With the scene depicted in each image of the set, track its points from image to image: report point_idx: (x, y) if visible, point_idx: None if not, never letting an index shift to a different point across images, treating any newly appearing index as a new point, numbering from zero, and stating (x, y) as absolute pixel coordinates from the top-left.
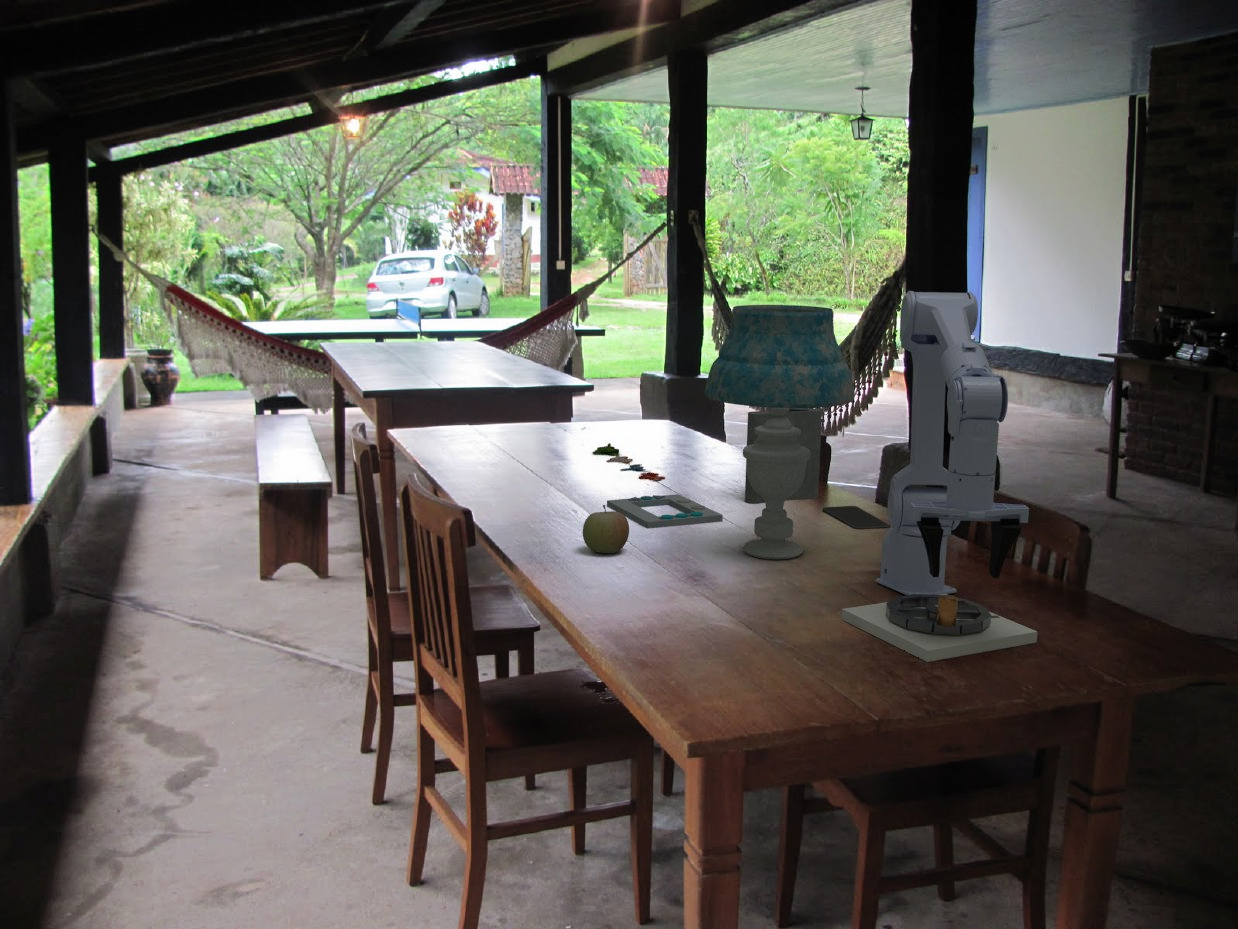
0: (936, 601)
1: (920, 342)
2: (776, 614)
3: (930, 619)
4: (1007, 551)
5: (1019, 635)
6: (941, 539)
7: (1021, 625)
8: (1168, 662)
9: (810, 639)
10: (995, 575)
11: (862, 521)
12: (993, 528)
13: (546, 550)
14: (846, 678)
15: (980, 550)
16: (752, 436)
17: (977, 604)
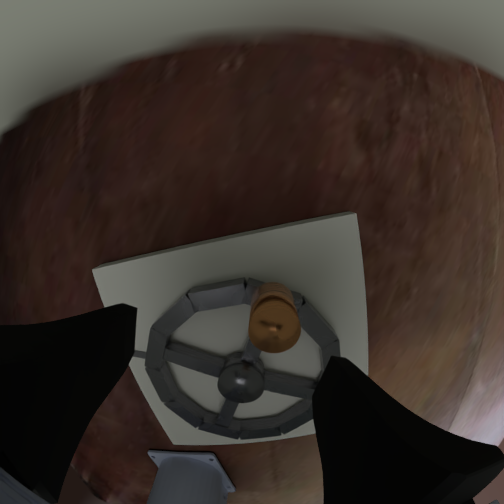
0: (238, 396)
1: None
2: None
3: (262, 363)
4: (42, 324)
5: (126, 261)
6: (409, 445)
7: (105, 304)
8: (5, 161)
9: (446, 341)
10: (129, 309)
11: None
12: (53, 468)
13: None
14: (478, 183)
15: (98, 489)
16: None
17: (153, 381)
